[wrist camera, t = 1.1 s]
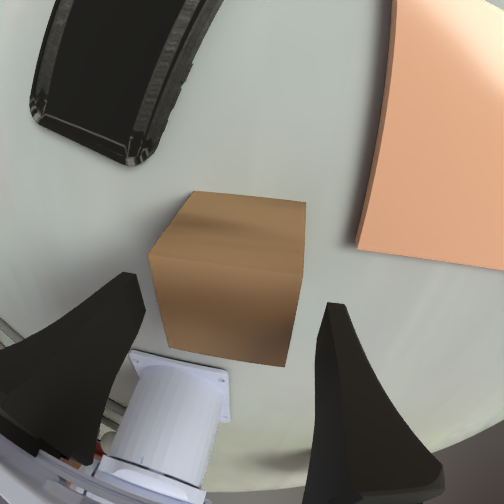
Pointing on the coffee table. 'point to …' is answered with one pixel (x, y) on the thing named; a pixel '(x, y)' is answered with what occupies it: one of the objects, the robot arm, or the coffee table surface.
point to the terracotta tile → (440, 137)
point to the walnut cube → (231, 276)
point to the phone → (116, 71)
